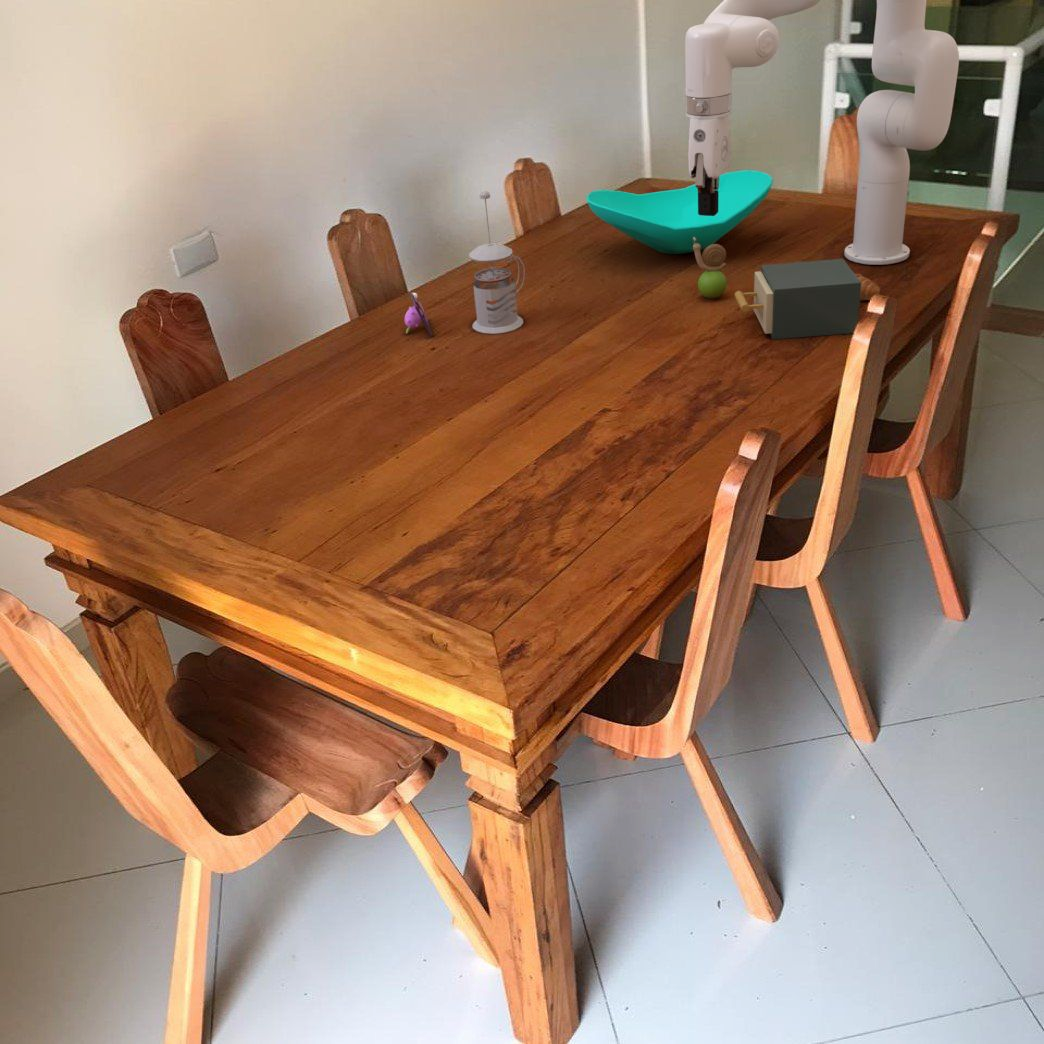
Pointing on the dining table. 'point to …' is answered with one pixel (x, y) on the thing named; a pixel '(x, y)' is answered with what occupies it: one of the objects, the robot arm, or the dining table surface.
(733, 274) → the dining table surface
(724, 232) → the table top decor
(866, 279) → the pastry
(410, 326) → the purple plush toy
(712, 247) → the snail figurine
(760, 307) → the drawer
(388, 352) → the dining table surface
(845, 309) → the cabinet
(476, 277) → the french press
